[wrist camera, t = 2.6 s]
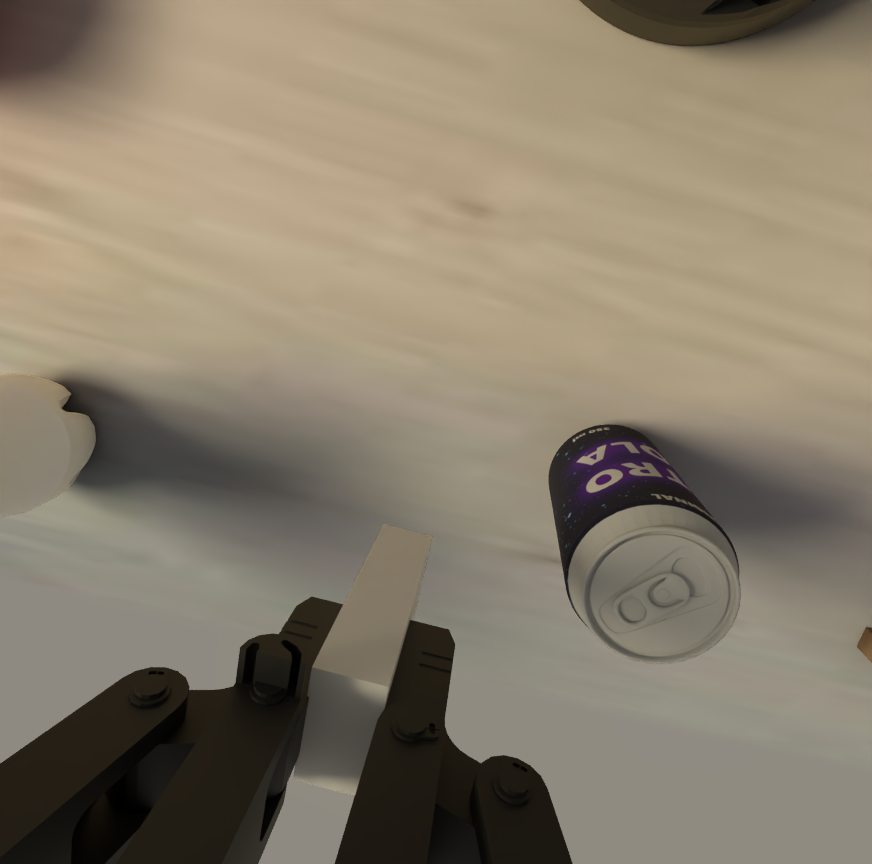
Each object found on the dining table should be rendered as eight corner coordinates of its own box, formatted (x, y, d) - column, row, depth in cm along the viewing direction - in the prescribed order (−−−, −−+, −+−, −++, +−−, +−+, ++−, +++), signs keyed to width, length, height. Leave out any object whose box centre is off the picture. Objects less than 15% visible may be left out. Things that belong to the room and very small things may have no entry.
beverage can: (682, 488, 30) (788, 625, 18) (585, 542, 31) (627, 701, 20) (622, 398, 29) (695, 482, 17) (526, 458, 30) (534, 572, 19)
